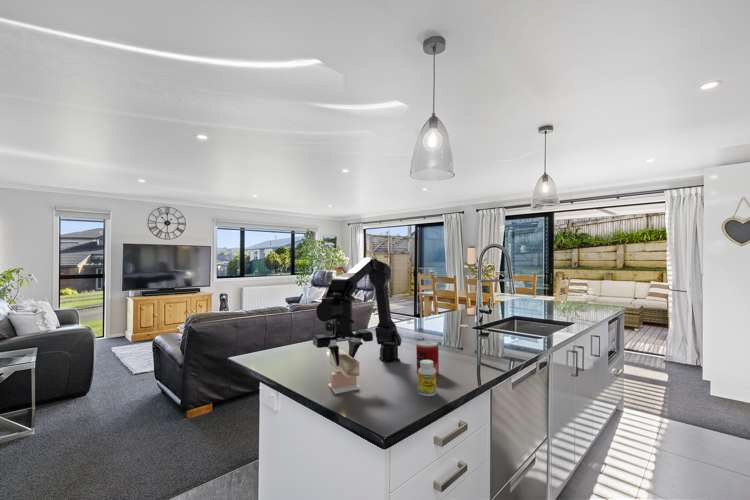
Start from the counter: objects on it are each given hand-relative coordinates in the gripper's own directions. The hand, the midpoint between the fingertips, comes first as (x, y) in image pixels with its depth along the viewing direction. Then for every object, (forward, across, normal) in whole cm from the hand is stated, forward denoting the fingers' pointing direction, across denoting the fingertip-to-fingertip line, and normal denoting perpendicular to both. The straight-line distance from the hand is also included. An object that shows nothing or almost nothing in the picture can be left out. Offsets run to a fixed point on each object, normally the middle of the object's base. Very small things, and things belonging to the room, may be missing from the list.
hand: (343, 365), depth 108 cm
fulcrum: (+7, 0, 0) cm, 7 cm away
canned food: (+7, -31, +2) cm, 32 cm away
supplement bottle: (+7, -21, +16) cm, 27 cm away
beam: (+1, 0, 0) cm, 1 cm away
